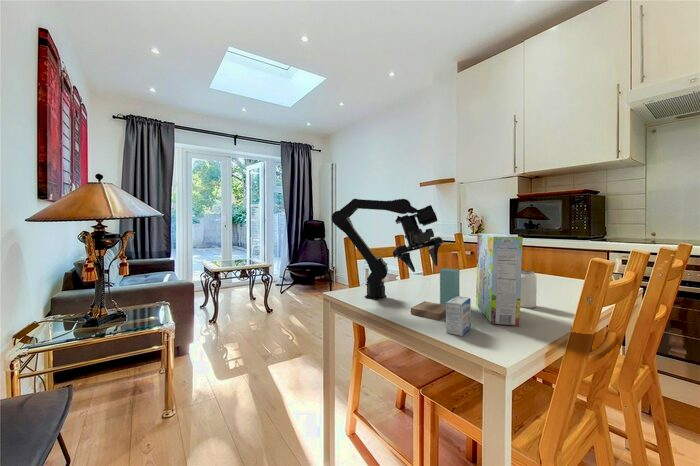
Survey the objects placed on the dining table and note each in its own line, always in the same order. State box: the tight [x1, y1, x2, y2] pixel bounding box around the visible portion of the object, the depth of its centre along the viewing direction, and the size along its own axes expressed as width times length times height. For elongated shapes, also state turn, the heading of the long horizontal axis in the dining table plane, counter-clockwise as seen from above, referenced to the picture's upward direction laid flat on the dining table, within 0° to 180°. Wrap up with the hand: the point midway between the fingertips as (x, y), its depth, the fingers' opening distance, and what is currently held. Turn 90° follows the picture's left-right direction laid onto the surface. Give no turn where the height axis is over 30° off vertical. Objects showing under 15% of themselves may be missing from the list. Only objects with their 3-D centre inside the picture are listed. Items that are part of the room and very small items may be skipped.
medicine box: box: [445, 296, 472, 337], centre depth 82 cm, size 8×4×9 cm, turn 143°
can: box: [520, 269, 538, 309], centre depth 104 cm, size 6×6×12 cm
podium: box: [410, 300, 446, 321], centre depth 98 cm, size 10×10×2 cm
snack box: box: [475, 233, 524, 327], centre depth 95 cm, size 22×9×26 cm, turn 168°
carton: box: [439, 267, 461, 305], centre depth 105 cm, size 5×5×13 cm
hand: (425, 269), depth 110 cm, fingers open, 9 cm apart
